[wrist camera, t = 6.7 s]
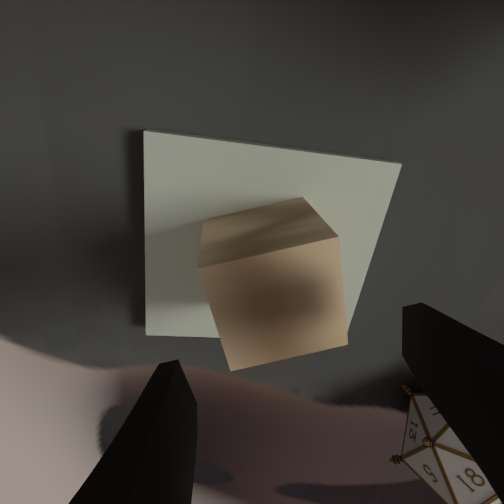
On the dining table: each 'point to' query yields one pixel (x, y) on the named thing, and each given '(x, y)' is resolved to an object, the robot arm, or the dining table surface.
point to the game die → (441, 456)
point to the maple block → (273, 282)
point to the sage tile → (243, 198)
